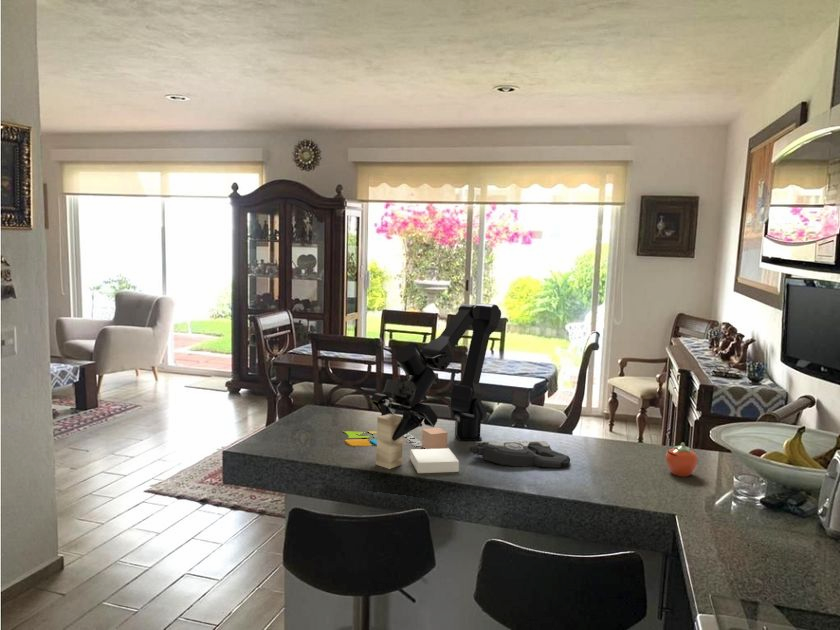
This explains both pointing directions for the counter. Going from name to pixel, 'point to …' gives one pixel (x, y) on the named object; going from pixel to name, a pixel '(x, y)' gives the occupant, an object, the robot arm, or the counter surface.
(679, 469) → the tomato
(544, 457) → the sci-fi pistol
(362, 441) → the logo
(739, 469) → the counter surface
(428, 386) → the robot arm
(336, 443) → the counter surface
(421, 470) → the slab
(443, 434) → the terracotta cube
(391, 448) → the beech block
